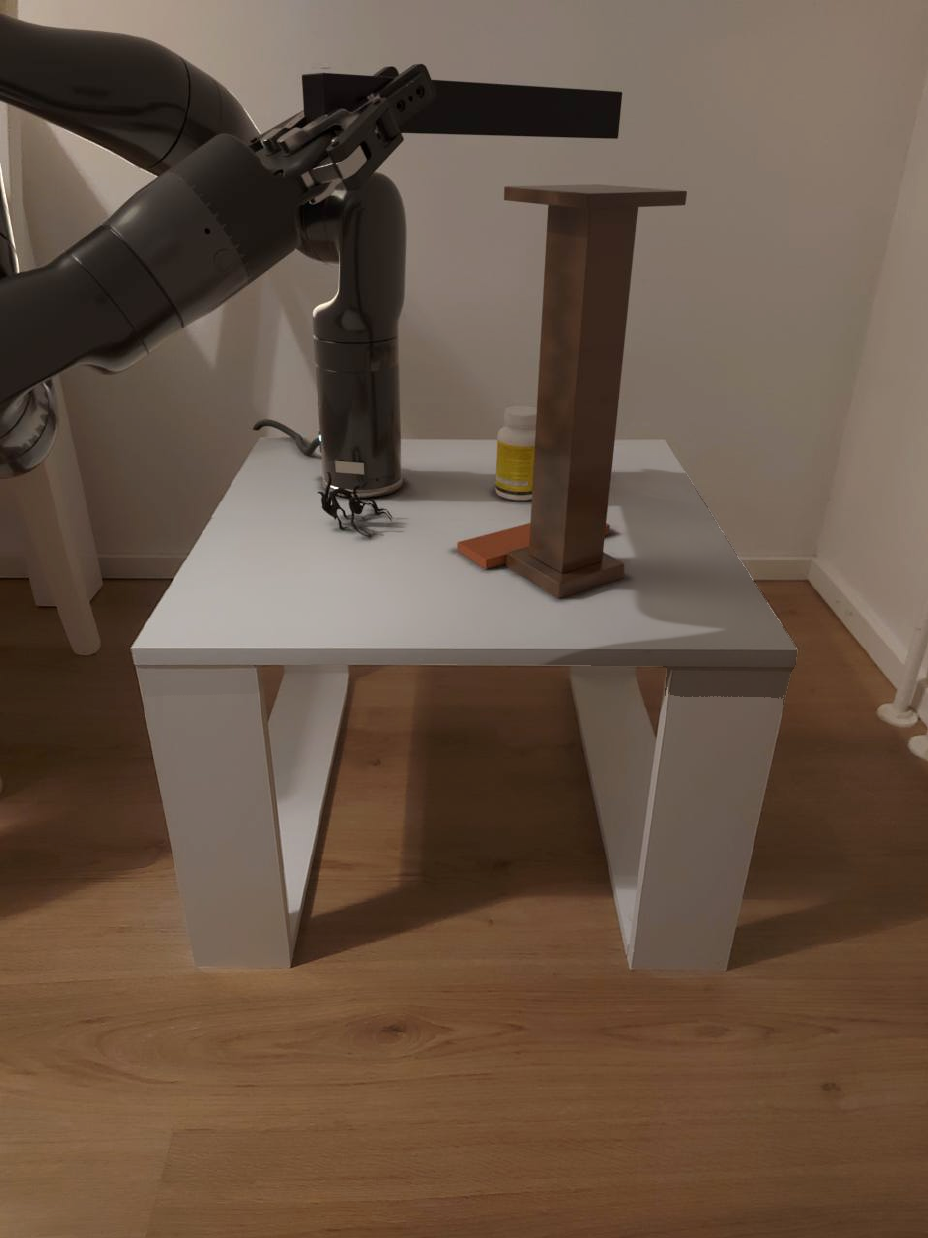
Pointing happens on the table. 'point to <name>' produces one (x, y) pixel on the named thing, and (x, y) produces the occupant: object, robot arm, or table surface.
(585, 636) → the table surface
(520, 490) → the supplement bottle
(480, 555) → the wooden plank
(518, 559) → the plant stand
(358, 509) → the creature
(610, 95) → the handle bar
